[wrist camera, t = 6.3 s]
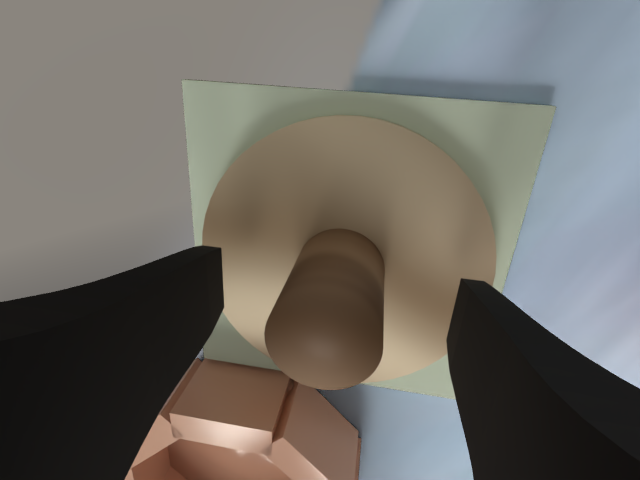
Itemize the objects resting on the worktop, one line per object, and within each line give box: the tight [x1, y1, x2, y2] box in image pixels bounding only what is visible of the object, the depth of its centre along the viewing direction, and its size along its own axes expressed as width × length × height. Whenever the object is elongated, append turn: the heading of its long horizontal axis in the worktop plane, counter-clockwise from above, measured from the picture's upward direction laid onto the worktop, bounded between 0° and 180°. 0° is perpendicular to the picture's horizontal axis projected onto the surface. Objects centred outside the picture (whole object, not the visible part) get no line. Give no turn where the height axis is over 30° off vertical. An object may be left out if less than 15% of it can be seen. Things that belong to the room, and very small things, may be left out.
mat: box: [182, 79, 556, 399], centre depth 13 cm, size 10×10×1 cm
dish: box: [125, 358, 361, 480], centre depth 17 cm, size 10×10×3 cm
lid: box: [202, 115, 497, 390], centre depth 11 cm, size 9×9×4 cm
